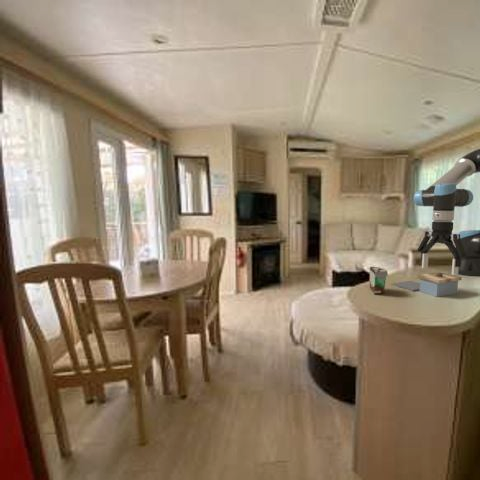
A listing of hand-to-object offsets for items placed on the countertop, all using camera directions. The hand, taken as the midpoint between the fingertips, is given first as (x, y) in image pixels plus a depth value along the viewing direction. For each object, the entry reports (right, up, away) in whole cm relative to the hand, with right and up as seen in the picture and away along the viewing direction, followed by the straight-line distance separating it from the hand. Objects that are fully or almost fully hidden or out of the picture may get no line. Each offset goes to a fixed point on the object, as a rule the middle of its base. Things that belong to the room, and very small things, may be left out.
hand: (439, 271), depth 134 cm
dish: (0, -9, +1) cm, 9 cm away
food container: (-24, -10, +4) cm, 26 cm away
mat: (-6, -8, +11) cm, 15 cm away
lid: (0, -3, +1) cm, 3 cm away
